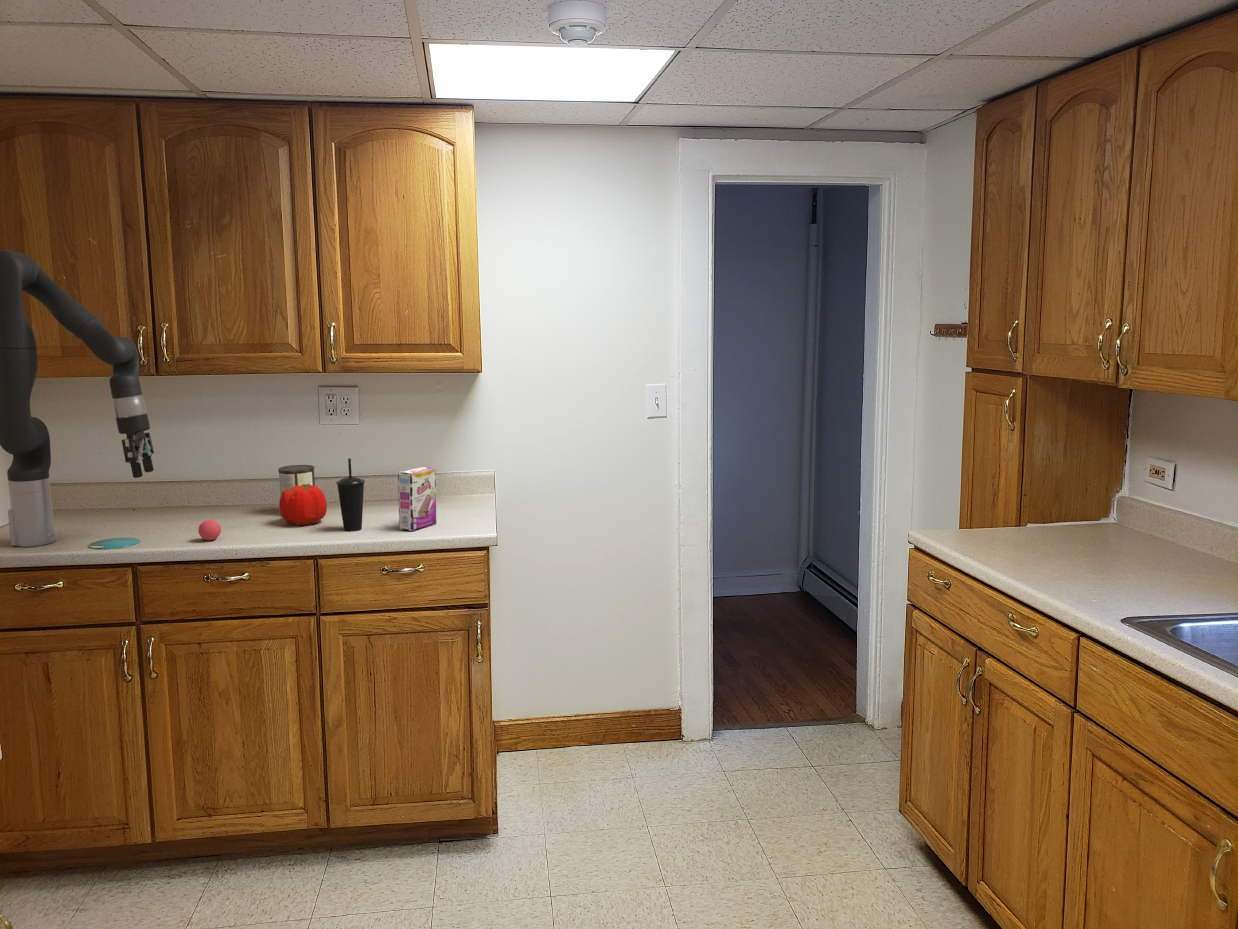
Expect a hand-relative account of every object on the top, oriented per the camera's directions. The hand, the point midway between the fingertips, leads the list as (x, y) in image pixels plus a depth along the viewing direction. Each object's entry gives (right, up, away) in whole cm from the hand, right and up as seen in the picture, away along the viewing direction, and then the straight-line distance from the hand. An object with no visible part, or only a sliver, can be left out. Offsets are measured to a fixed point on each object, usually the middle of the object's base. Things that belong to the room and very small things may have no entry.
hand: (143, 474), depth 250 cm
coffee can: (+29, -12, +36) cm, 48 cm away
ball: (+16, -15, +2) cm, 22 cm away
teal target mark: (-7, -18, -1) cm, 20 cm away
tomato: (+35, -14, +23) cm, 44 cm away
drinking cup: (+51, -16, +14) cm, 55 cm away
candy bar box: (+69, -15, +17) cm, 73 cm away
